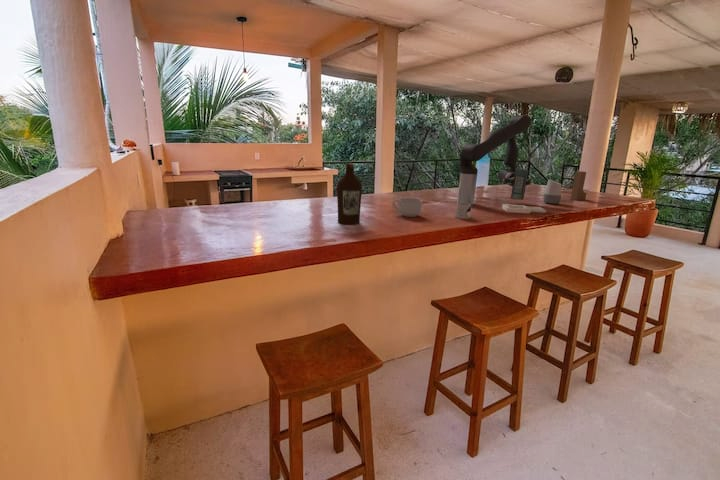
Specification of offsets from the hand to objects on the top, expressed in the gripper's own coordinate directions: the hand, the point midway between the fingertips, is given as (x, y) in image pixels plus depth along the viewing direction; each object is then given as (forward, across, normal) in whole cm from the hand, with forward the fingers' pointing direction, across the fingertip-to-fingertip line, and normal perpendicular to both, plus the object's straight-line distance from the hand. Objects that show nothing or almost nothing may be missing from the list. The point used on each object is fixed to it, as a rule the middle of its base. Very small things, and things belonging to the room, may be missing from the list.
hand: (520, 182), depth 191 cm
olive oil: (+50, -81, +16) cm, 97 cm away
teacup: (+28, -57, +16) cm, 65 cm away
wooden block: (-53, +50, +14) cm, 75 cm away
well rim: (-2, 0, +15) cm, 15 cm away
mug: (+23, -30, +16) cm, 41 cm away
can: (-1, 0, +9) cm, 9 cm away
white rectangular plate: (-6, +11, +15) cm, 19 cm away
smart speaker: (-31, +27, +15) cm, 44 cm away
